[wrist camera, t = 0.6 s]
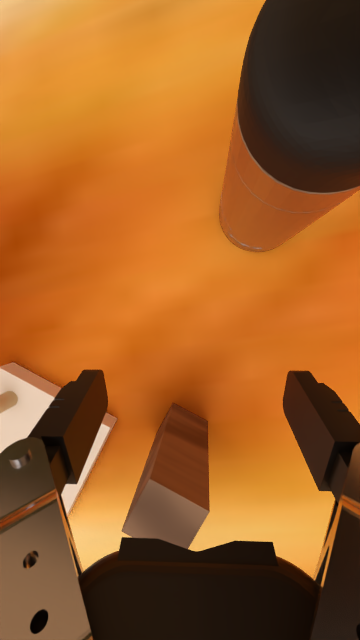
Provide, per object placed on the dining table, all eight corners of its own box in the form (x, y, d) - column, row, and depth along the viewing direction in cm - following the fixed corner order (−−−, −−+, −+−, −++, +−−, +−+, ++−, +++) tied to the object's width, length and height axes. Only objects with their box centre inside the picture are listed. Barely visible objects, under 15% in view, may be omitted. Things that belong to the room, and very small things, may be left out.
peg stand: (13, 362, 35) (-31, 376, 28) (117, 418, 34) (96, 446, 28) (-29, 459, 37) (-78, 493, 30) (69, 514, 36) (39, 561, 30)
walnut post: (172, 402, 33) (149, 478, 19) (207, 421, 33) (209, 511, 19) (155, 435, 34) (121, 531, 20) (189, 453, 34) (179, 563, 20)
